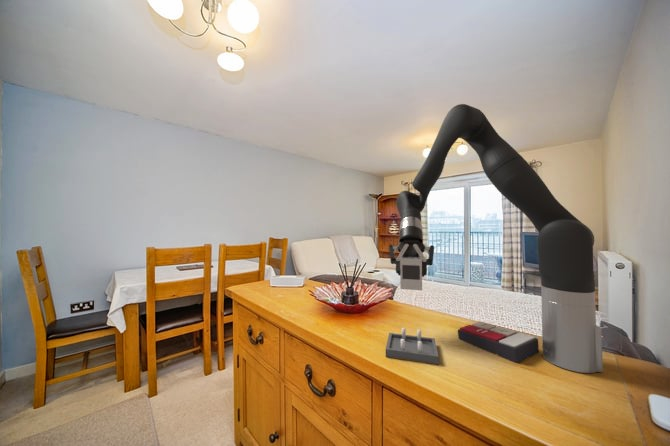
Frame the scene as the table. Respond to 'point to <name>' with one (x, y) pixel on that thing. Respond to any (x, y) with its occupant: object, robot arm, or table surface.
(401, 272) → the drive
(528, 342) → the red and grey box
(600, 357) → the robot arm
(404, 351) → the tray
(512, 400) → the table surface
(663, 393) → the table surface
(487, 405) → the table surface
